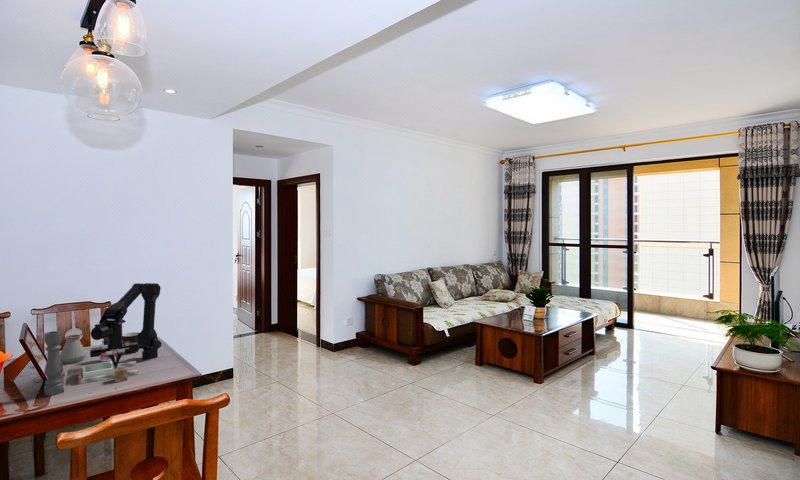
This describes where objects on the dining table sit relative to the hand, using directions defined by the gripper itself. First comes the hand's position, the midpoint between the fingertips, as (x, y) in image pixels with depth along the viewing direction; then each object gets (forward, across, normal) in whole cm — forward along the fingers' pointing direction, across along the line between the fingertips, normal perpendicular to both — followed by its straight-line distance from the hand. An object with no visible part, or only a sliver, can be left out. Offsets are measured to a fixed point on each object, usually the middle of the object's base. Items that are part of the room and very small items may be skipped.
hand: (115, 367), depth 195 cm
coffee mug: (+4, -8, -39) cm, 40 cm away
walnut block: (+4, -1, +12) cm, 13 cm away
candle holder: (+4, +22, +10) cm, 24 cm away
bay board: (+4, +2, 0) cm, 4 cm away
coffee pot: (+4, +14, -41) cm, 44 cm away
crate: (+2, +7, 0) cm, 7 cm away
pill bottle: (+4, +2, -29) cm, 29 cm away
